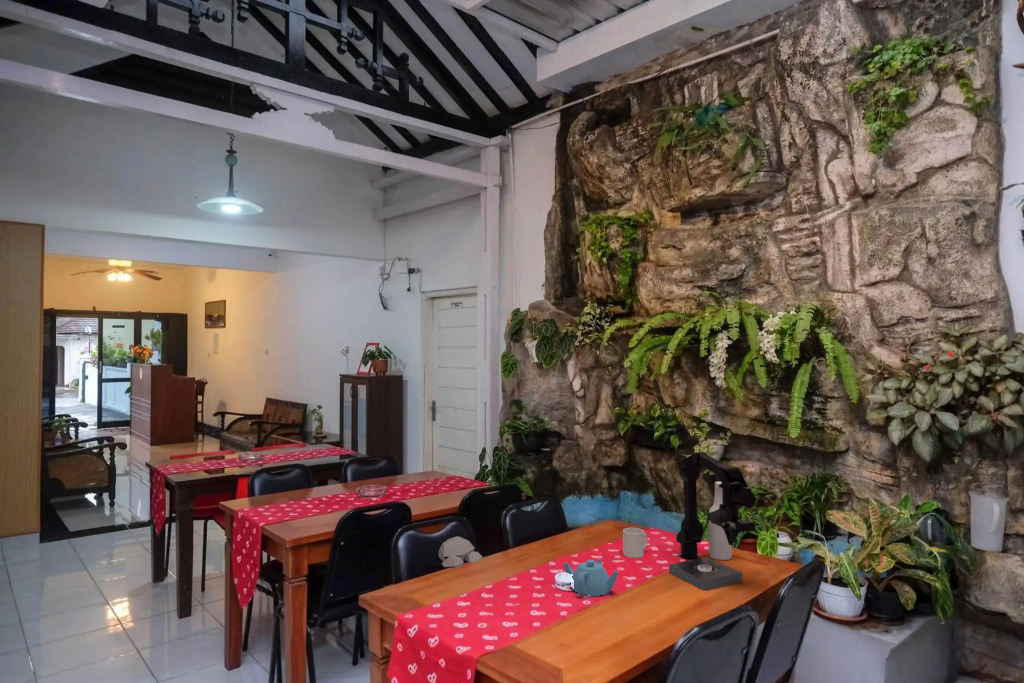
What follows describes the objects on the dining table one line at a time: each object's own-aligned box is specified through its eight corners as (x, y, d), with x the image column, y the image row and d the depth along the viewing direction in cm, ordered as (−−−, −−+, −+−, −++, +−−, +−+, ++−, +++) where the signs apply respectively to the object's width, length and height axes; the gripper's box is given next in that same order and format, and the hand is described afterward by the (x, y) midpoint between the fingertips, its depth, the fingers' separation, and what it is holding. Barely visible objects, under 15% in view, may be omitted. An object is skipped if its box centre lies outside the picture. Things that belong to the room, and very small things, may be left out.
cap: (694, 577, 229) (694, 566, 229) (704, 574, 231) (704, 563, 231) (705, 581, 224) (704, 570, 224) (715, 578, 227) (714, 567, 227)
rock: (489, 562, 244) (489, 537, 245) (457, 577, 228) (457, 551, 228) (453, 553, 254) (453, 529, 255) (420, 567, 238) (420, 542, 238)
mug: (639, 549, 259) (639, 525, 259) (654, 555, 252) (654, 529, 253) (618, 555, 253) (618, 529, 253) (633, 561, 246) (633, 534, 246)
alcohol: (708, 559, 248) (708, 484, 248) (708, 552, 256) (708, 479, 256) (732, 561, 245) (732, 485, 246) (731, 554, 254) (731, 480, 254)
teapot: (561, 586, 219) (561, 555, 220) (600, 581, 224) (600, 551, 224) (579, 603, 205) (579, 570, 205) (620, 597, 209) (620, 565, 210)
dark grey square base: (669, 573, 232) (669, 564, 232) (706, 566, 240) (706, 557, 240) (703, 590, 216) (703, 580, 216) (742, 582, 223) (742, 572, 223)
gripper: (695, 498, 233) (696, 540, 232) (732, 509, 215) (732, 555, 215) (719, 496, 237) (719, 537, 237) (756, 506, 220) (756, 551, 220)
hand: (730, 545), depth 227 cm, fingers closed
